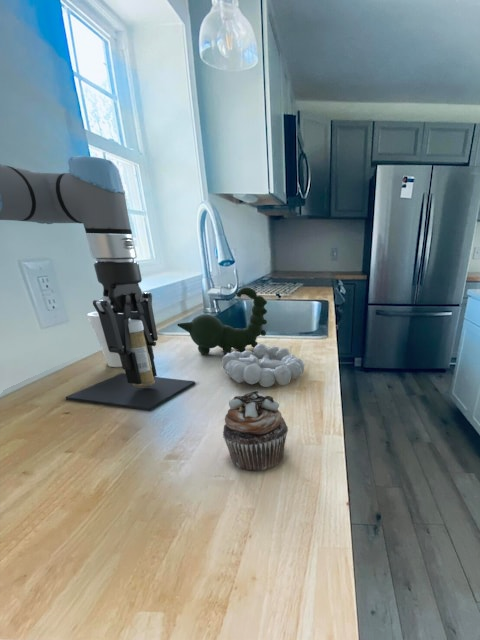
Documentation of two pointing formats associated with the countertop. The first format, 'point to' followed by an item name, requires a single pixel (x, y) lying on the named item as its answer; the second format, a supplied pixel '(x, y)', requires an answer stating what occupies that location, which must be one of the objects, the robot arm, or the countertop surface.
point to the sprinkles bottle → (140, 353)
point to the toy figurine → (228, 328)
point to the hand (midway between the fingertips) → (142, 379)
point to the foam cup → (103, 340)
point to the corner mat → (131, 392)
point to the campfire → (263, 366)
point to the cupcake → (255, 432)
